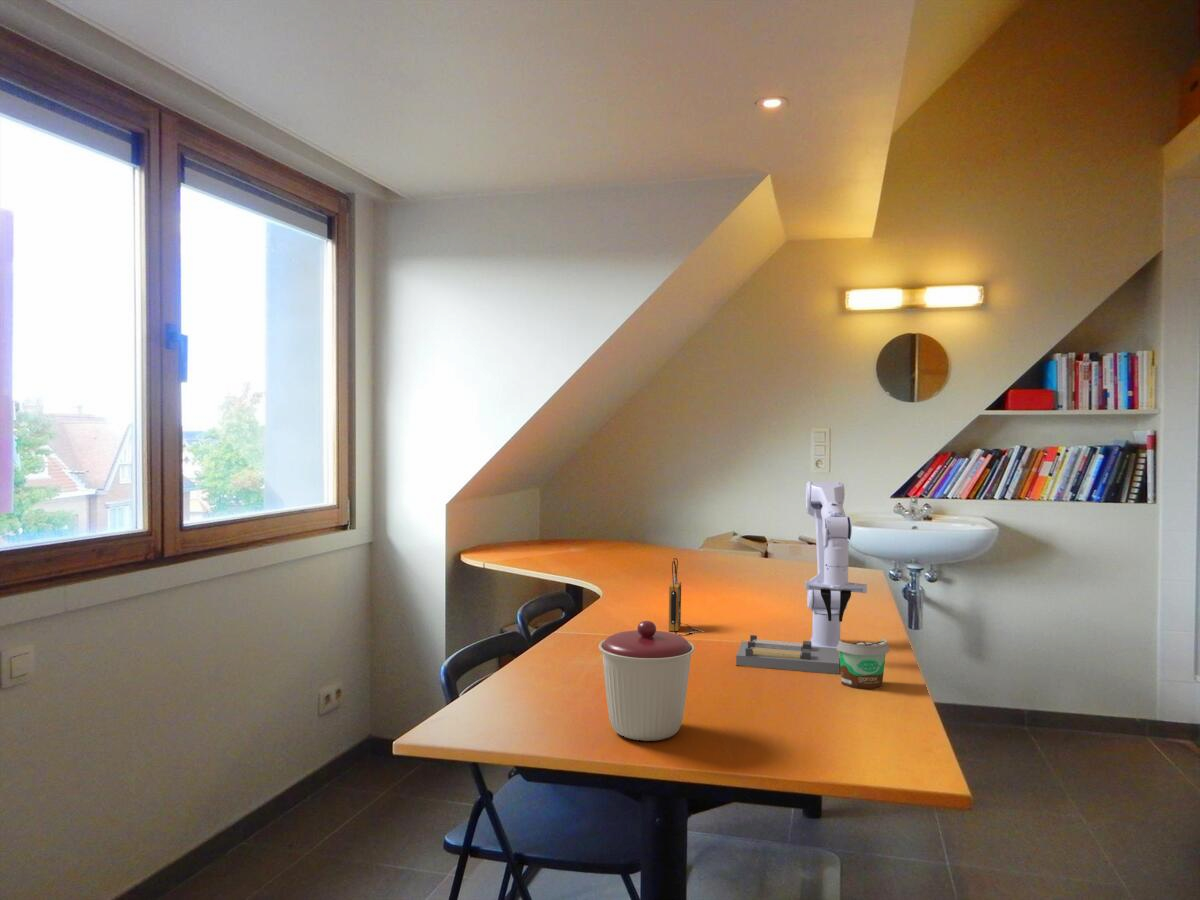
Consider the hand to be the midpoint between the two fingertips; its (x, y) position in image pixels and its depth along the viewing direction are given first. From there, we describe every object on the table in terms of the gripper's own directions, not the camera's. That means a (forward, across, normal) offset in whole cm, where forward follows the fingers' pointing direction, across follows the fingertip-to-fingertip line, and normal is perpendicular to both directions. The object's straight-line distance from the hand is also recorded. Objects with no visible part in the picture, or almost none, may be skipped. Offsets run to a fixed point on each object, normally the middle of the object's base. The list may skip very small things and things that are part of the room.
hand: (835, 620), depth 208 cm
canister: (+11, -35, -59) cm, 69 cm away
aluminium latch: (+8, -14, +1) cm, 16 cm away
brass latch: (+8, -14, -7) cm, 18 cm away
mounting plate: (+10, -11, -3) cm, 15 cm away
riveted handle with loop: (+11, -40, +22) cm, 47 cm away
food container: (+11, +7, -18) cm, 22 cm away
